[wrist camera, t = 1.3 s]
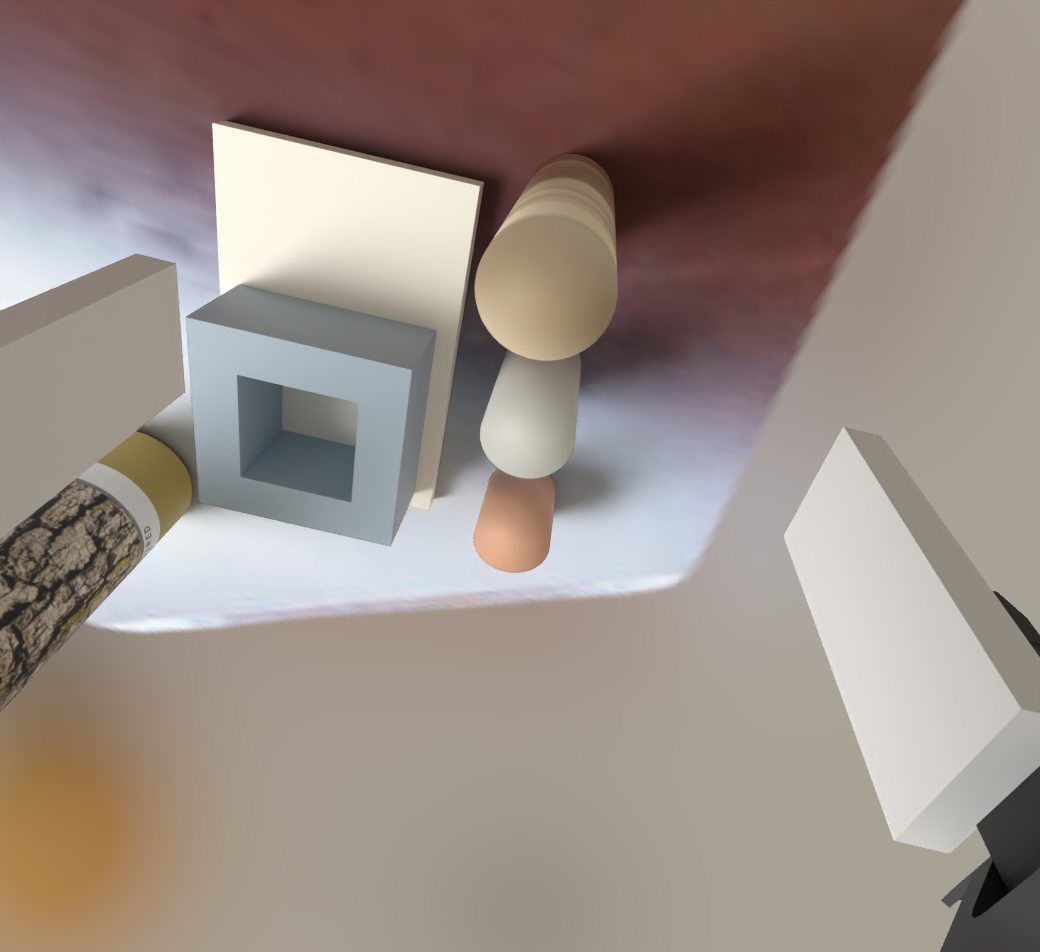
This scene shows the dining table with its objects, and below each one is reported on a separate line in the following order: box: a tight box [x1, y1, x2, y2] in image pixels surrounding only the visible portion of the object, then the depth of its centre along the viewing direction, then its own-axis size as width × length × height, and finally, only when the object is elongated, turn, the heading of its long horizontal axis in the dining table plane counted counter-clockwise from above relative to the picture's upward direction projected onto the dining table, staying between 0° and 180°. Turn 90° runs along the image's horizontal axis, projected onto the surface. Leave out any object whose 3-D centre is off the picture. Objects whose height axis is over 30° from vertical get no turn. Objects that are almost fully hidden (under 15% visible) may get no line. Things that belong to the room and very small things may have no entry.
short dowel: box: [473, 468, 556, 573], centre depth 37 cm, size 4×4×5 cm
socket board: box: [185, 121, 484, 546], centre depth 33 cm, size 18×12×6 cm, turn 169°
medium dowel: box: [480, 349, 581, 479], centre depth 31 cm, size 4×4×8 cm
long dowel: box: [475, 154, 618, 361], centre depth 25 cm, size 4×4×14 cm
